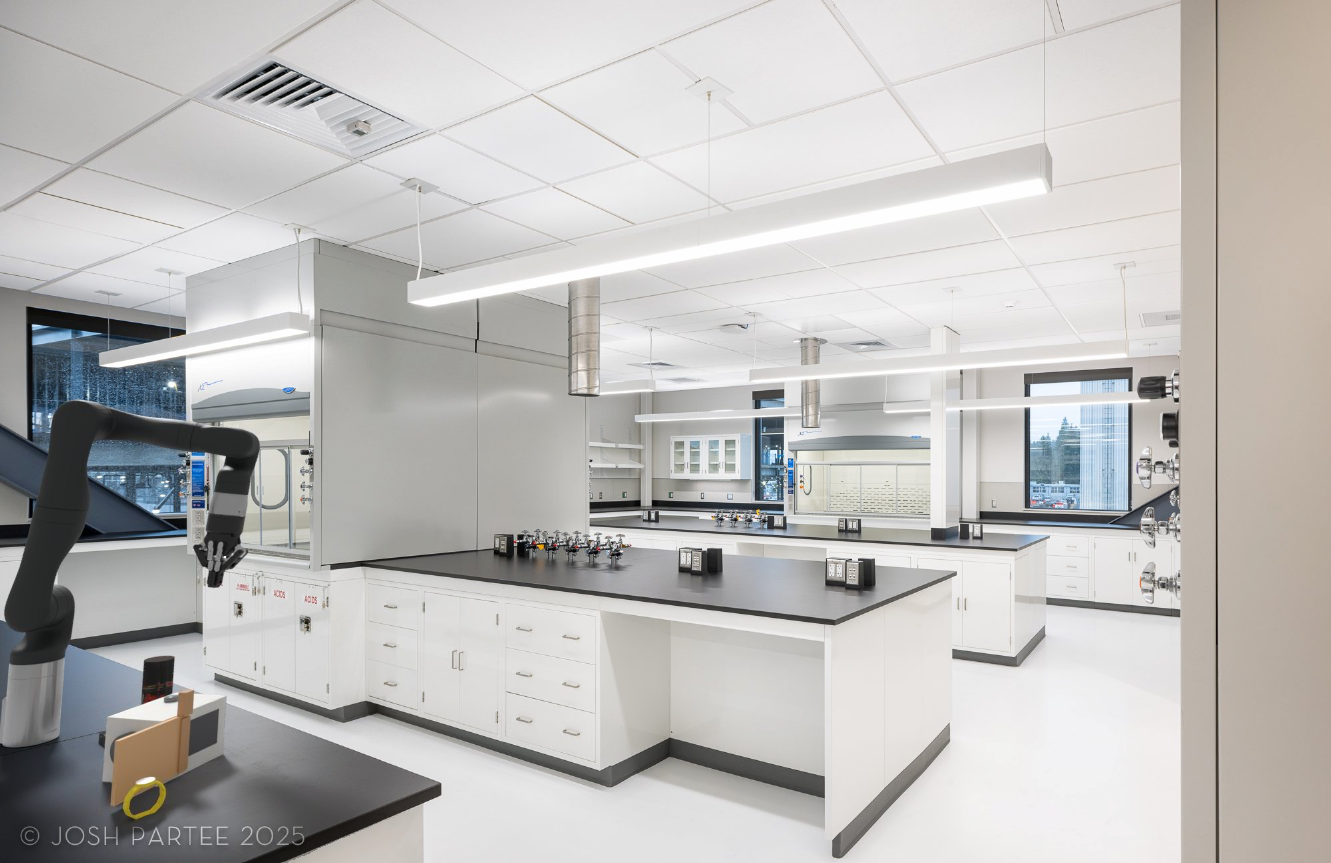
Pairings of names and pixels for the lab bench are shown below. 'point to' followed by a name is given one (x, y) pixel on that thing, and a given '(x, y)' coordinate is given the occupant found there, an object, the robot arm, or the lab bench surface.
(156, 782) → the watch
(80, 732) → the lab bench surface
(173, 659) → the deodorant
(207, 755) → the box
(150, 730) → the side door
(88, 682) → the lab bench surface
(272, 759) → the lab bench surface
